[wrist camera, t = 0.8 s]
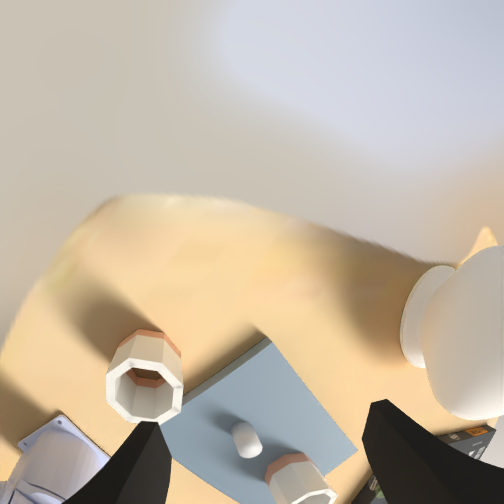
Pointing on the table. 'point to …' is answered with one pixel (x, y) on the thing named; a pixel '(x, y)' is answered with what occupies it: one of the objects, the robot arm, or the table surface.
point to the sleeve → (141, 389)
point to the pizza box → (469, 441)
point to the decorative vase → (460, 334)
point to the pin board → (252, 425)
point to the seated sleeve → (298, 481)
